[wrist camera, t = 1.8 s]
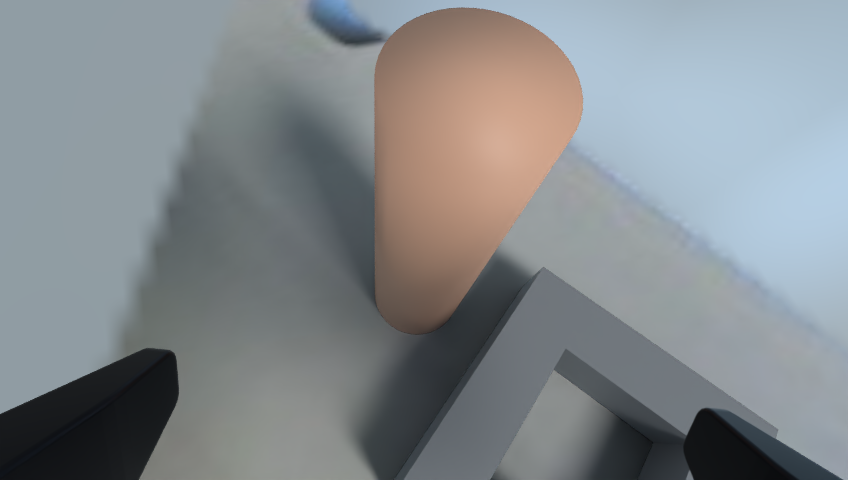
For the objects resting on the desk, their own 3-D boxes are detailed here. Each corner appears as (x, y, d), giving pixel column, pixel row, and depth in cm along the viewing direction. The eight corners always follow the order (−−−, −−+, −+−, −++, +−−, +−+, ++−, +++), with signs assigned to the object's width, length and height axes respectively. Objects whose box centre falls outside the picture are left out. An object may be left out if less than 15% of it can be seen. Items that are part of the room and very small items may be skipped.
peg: (425, 352, 20) (515, 215, 7) (357, 300, 21) (328, 89, 8) (472, 286, 21) (616, 76, 9) (408, 239, 22) (454, -20, 9)
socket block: (623, 696, 16) (675, 751, 13) (385, 493, 17) (386, 504, 15) (722, 429, 20) (778, 429, 17) (522, 287, 22) (543, 266, 19)
